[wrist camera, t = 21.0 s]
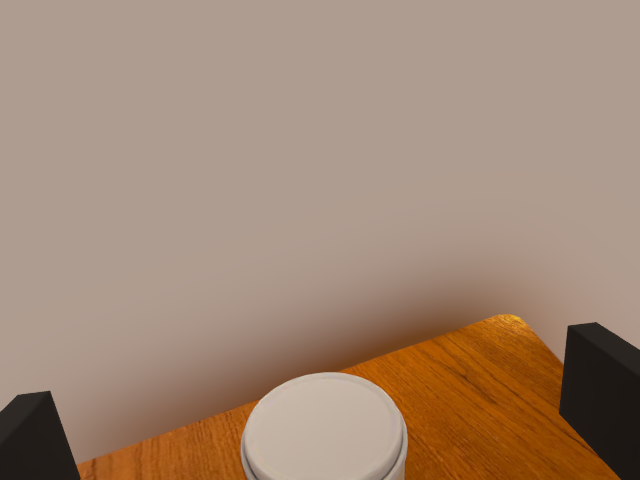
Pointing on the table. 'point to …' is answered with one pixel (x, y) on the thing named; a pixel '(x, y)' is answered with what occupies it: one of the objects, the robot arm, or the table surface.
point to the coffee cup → (325, 432)
